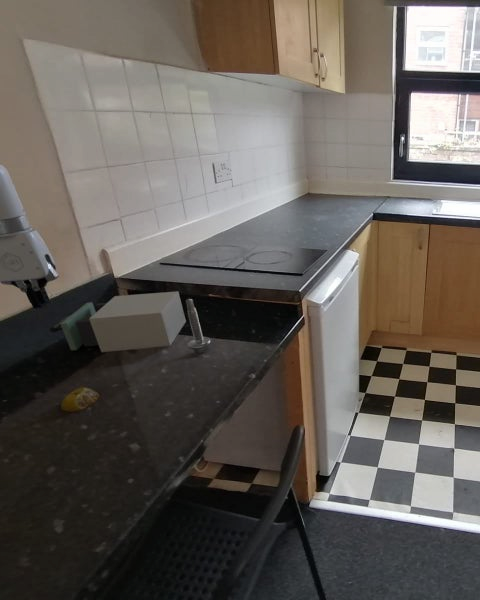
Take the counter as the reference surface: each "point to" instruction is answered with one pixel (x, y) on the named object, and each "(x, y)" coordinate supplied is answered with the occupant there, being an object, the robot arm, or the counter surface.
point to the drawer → (79, 326)
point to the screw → (196, 330)
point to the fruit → (79, 399)
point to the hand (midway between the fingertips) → (42, 305)
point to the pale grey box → (138, 321)
